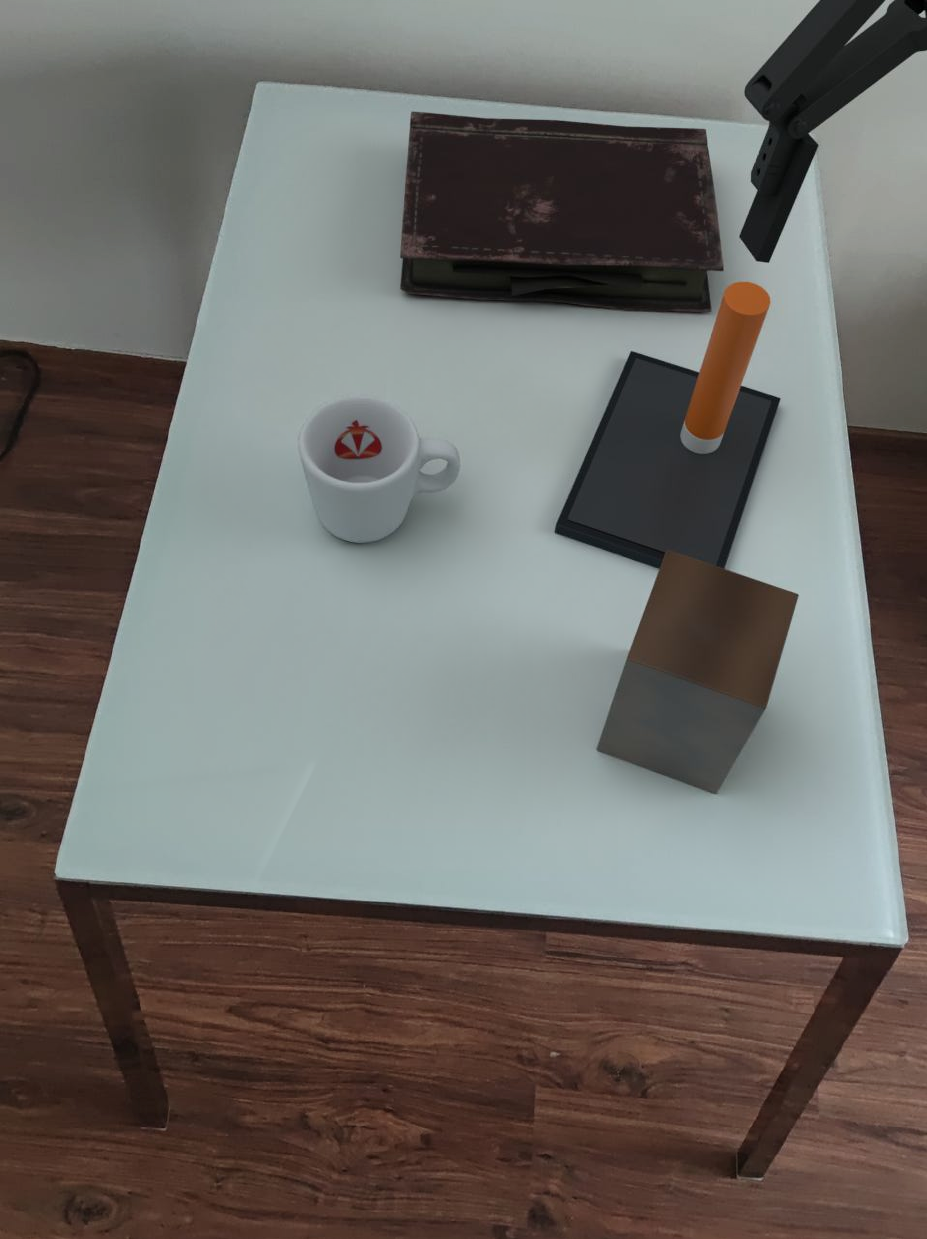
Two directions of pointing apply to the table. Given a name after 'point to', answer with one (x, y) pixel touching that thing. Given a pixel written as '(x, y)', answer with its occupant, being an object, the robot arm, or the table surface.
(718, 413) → the orange cylinder
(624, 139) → the diary
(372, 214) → the table surface
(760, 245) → the robot arm
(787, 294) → the table surface
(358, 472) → the cup
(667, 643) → the tall brown-topped block
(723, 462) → the tablet
